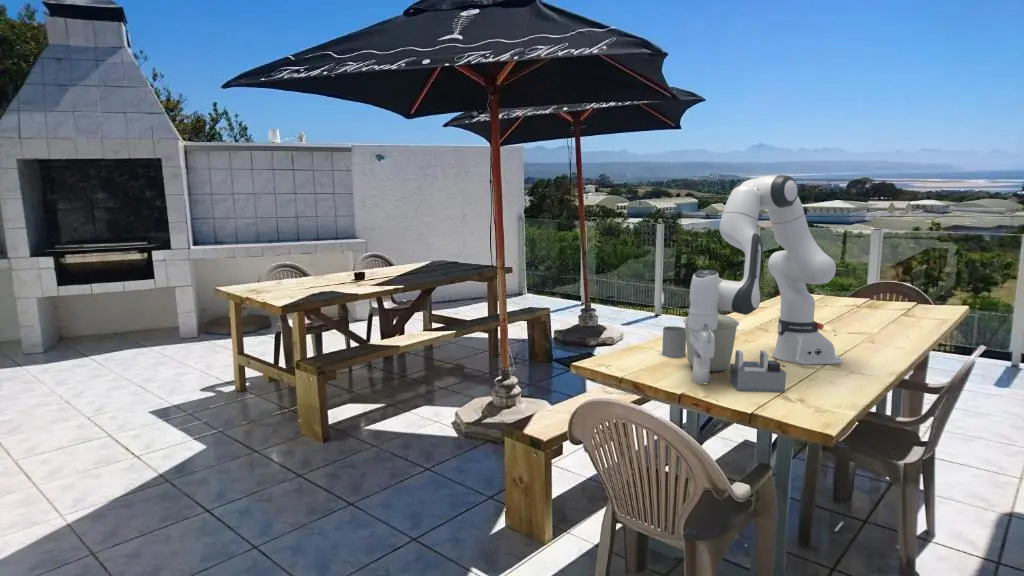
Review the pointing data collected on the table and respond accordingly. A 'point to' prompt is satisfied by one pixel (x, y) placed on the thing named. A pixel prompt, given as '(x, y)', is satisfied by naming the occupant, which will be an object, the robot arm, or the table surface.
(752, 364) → the grey holder stand
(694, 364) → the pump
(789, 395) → the table surface
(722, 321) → the canister
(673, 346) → the cup
